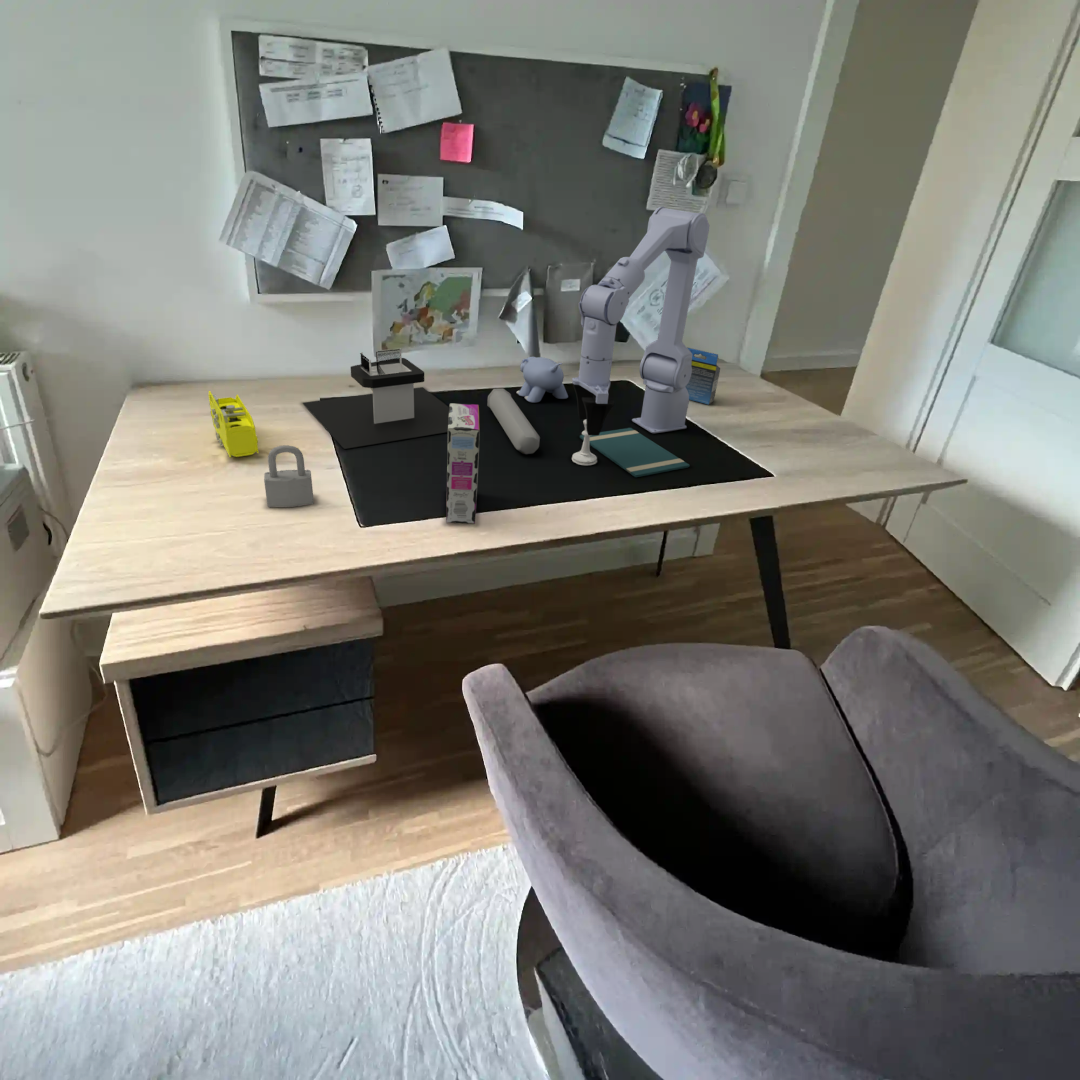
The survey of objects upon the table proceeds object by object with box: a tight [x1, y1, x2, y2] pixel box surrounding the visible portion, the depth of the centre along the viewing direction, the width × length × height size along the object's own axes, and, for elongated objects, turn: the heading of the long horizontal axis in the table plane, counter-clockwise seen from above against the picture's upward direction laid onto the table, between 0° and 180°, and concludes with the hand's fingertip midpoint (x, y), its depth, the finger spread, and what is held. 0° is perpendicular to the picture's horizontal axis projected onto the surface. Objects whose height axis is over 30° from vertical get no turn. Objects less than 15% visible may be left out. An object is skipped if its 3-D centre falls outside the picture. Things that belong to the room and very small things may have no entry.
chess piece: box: [571, 420, 598, 466], centre depth 138 cm, size 5×5×10 cm
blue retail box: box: [685, 346, 721, 406], centre depth 173 cm, size 9×4×12 cm, turn 58°
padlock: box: [263, 444, 315, 508], centre depth 116 cm, size 7×4×10 cm, turn 107°
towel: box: [579, 427, 690, 478], centre depth 146 cm, size 13×20×1 cm, turn 29°
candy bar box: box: [445, 403, 481, 525], centre depth 117 cm, size 11×5×16 cm, turn 5°
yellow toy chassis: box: [208, 390, 259, 458], centre depth 134 cm, size 16×6×8 cm, turn 31°
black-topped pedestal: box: [302, 347, 450, 450], centre depth 150 cm, size 28×26×13 cm
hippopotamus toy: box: [516, 356, 569, 403], centre depth 169 cm, size 11×15×10 cm
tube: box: [487, 388, 541, 455], centre depth 149 cm, size 5×5×25 cm
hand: (588, 426), depth 137 cm, fingers open, 7 cm apart
